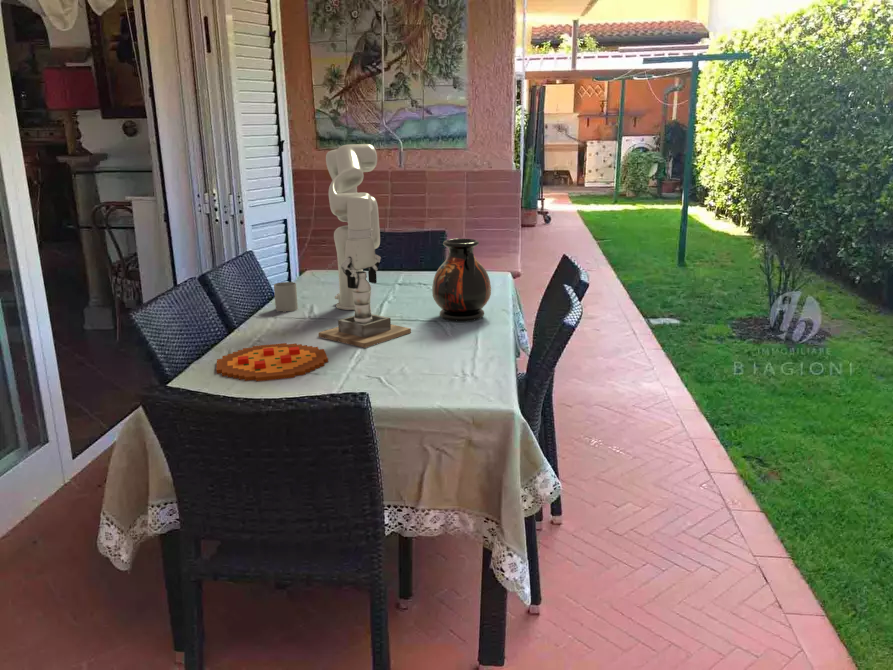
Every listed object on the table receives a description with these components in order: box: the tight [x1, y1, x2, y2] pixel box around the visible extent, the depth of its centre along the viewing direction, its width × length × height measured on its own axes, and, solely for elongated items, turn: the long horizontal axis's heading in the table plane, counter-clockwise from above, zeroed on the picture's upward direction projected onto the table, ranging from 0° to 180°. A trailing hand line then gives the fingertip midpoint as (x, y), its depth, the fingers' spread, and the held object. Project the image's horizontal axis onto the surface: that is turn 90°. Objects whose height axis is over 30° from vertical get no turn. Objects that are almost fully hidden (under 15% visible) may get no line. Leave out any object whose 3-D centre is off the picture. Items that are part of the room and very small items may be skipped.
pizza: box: [216, 342, 329, 382], centre depth 219 cm, size 32×32×3 cm
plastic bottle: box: [352, 270, 373, 324], centre depth 243 cm, size 6×7×20 cm
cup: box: [273, 281, 299, 313], centre depth 282 cm, size 8×8×10 cm
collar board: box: [317, 313, 412, 349], centre depth 246 cm, size 22×22×6 cm
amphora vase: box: [431, 238, 492, 322], centre depth 264 cm, size 22×22×28 cm
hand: (362, 285), depth 242 cm, fingers open, 9 cm apart
